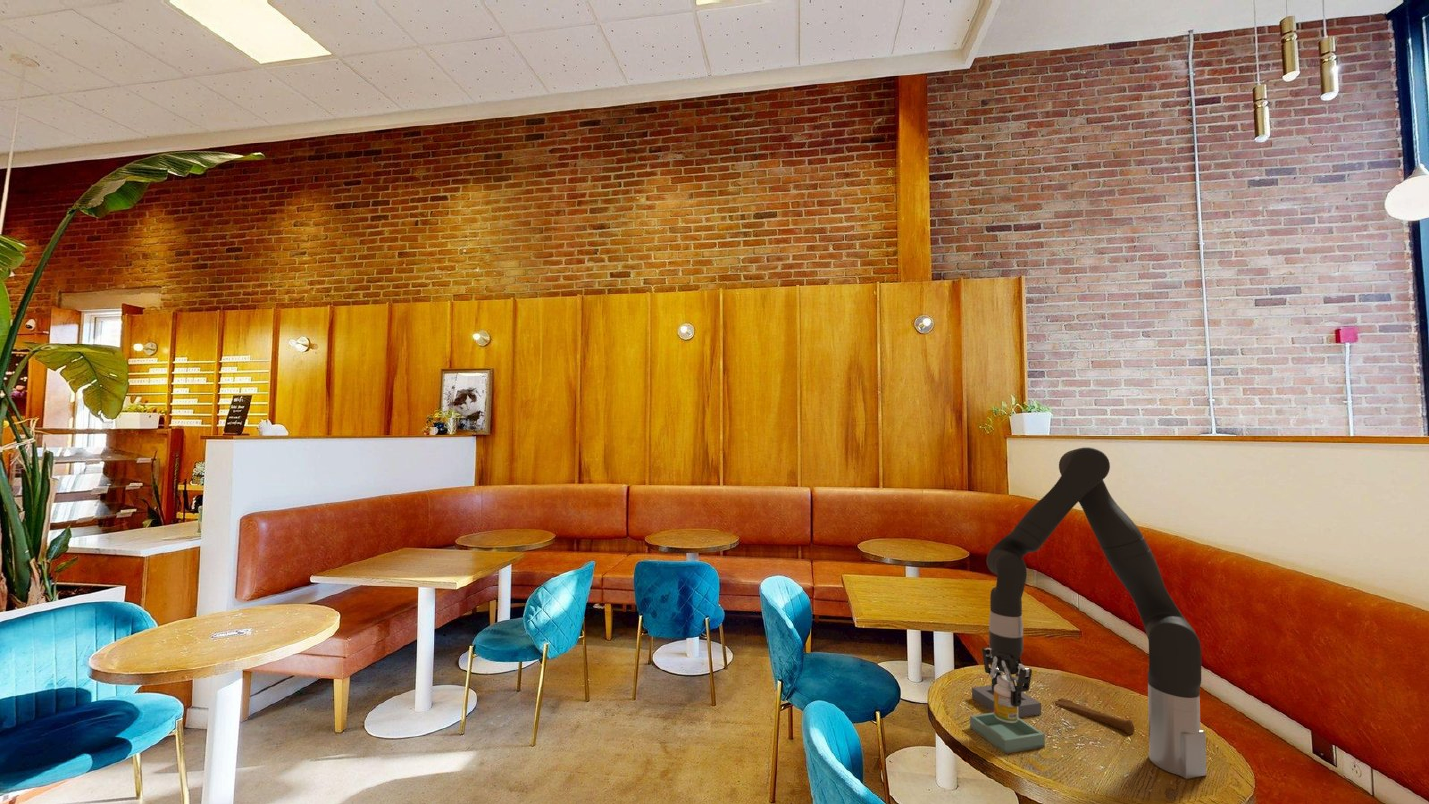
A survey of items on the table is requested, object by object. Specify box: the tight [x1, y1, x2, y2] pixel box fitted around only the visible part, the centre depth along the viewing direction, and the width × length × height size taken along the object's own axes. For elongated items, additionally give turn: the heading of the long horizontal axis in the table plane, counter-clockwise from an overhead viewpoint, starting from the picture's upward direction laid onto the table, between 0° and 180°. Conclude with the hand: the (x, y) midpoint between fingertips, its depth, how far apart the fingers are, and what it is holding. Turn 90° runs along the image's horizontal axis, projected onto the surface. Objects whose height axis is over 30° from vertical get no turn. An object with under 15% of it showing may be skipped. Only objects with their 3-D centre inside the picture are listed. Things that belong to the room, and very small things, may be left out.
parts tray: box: [969, 712, 1046, 754], centre depth 138 cm, size 12×12×3 cm
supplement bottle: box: [994, 674, 1018, 723], centre depth 138 cm, size 5×5×10 cm
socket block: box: [971, 684, 1042, 719], centre depth 153 cm, size 12×12×3 cm
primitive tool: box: [1053, 697, 1135, 735], centre depth 149 cm, size 19×6×4 cm, turn 31°
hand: (1006, 699), depth 138 cm, fingers closed on supplement bottle, 5 cm apart
